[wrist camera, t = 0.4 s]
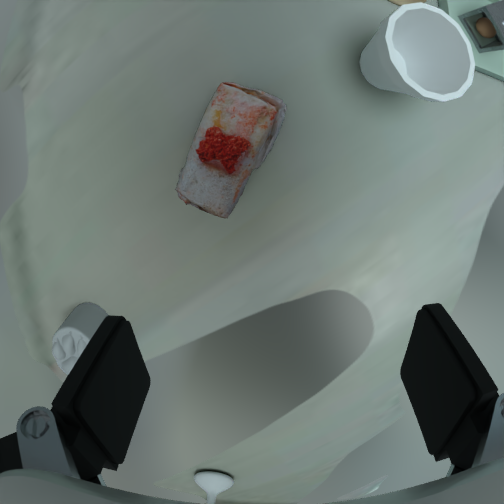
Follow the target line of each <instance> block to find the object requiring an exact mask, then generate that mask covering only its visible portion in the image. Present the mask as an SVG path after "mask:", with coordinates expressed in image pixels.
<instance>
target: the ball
mask: <svg viewBox="0 0 504 504" xmlns="http://www.w3.org/2000/svg"><path fill="white" fill-rule="evenodd" d="M476 28H477V31H478V32H479V33H480V34H481V35H482V36H483V37H485V38H493V37H494V36H495V35H496V30H495V28H494V26H493V24H492V23H491V21H490V19H488V18H484V17H482V18H479V19H478V20H477V22H476Z"/></svg>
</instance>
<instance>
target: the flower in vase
mask: <svg viewBox="0 0 504 504" xmlns="http://www.w3.org/2000/svg"><path fill="white" fill-rule="evenodd" d="M194 480H195V482H196V483H197V484H198V485H199V486H200V487H201V488H202V489H203V490H204V491H205V492H206V493H207V503H206V504H215V500H216V496H217V495H218V494H219V493H221V492H223V491H225V490H227V489H229V488H230V487H232V486H233V484H234V481H233V479H232V478H231V477H230V476H228V475H225V474H222V473H219V472H211V471H206V472H199V473H197V474H196V475H194Z"/></svg>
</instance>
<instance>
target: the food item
mask: <svg viewBox="0 0 504 504" xmlns="http://www.w3.org/2000/svg"><path fill="white" fill-rule="evenodd" d="M286 110H287V107H286V104H285V103H283V100H282V99H279V98H277V97H275V96H273V95H270V94H268V93H266V92H264V91H261V90H259V89H252V88H245V87H244V86H241V85H238V84H236V83H233V82H223V83H221V84H220V85H219V87H218V89H217V90H216V92H215V93H214V95H213V97H212V99H211V101H210V103H209V105H208V107H207V109H206V111H205V113H204V115H203V118H202V120H201V122H200V125H199V127H198V129H197V132H196V134H195V136H194V139H193V142H192V145H191V147H190V150H189V153H188V156H187V161H186V164H185V166H184V168H182V169H181V171H180V174H179V181H178V183H177V187H176V189H175V190H177V192H178V196H179V198H180V199H181V200H183V201H184V202H185V203H186V205H187V204H191V205H193V206H195V207H197V208H199V209H200V210H202V211H205V212H207V213H210V214H213V215H215V216H218V217H222V218H228V216H229V215H230V214H231V212H232V211H233V209H234V208H235V205H236V204H237V202H238V200H239V197H240V196H241V195H242V193H243V190H244V187H245V185H246V183H247V180H248V178H249V176H250V174H251V172H252V170H253V169H257V168H258V167H259V166H260V165H261V163H263V161H264V160H265V158H266V156H267V154H268V153H269V152H270V151H271V149H272V147H273V145H274V141H275V140H276V137H277V135H278V133H279V131H280V128H281V126H282V123H283V121H284V113H285V112H286Z"/></svg>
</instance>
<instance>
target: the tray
mask: <svg viewBox="0 0 504 504" xmlns="http://www.w3.org/2000/svg"><path fill="white" fill-rule="evenodd" d="M497 1H501V0H438V5H439V9H442V10H443V11H444V12H445V13H446V14H448V15H449V16H450V17H451V18H452V19H454V20H455V21H456V22H457V23H458V24H459V25H460V27H461V28H462V30H463V32H464V33H465V35H466V37H467V38H468V40H469V42H470V43H471V47H472V51H473V56H474V61H475V70H476V71H478V72H481V73H484V74H486V75H489V76H491V77H494V78H496V79H498V80H501V81H503V82H504V50H498V51H491V52H484V53H479V52H478V51H477V49H476V47H475V45H474V43H473V41H472V40H471V38H470V36H469V34H468V33H467V31H466V29H465V28H464V26H463V24H462V23H461V21H460V20H459V18H458V16H459V15H462V14H464V13H466V12H469V11H472V10H474V9H477V8H479V7H482V6H485V5H488V4H491V3H494V2H497ZM482 17H484V16H483V15H482V13H478V14H475V15H472V16H469V17H466V18H465V19H466V21H467V23H468V24H469V26H470V28H471V29H472V31H473V33H474V34H475V36H476V38H477V40H478V42H479V43H480V45H481V47H483V46H485V45H487V44H489V43H491V42H493V41H495V40H497V39H496V38H495V36H494V37H493V38H485V37H483V36H482V35H481V34H480V33H479V32H478V31H477V28H476V22H477V20H478V19H479V18H482Z"/></svg>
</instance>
